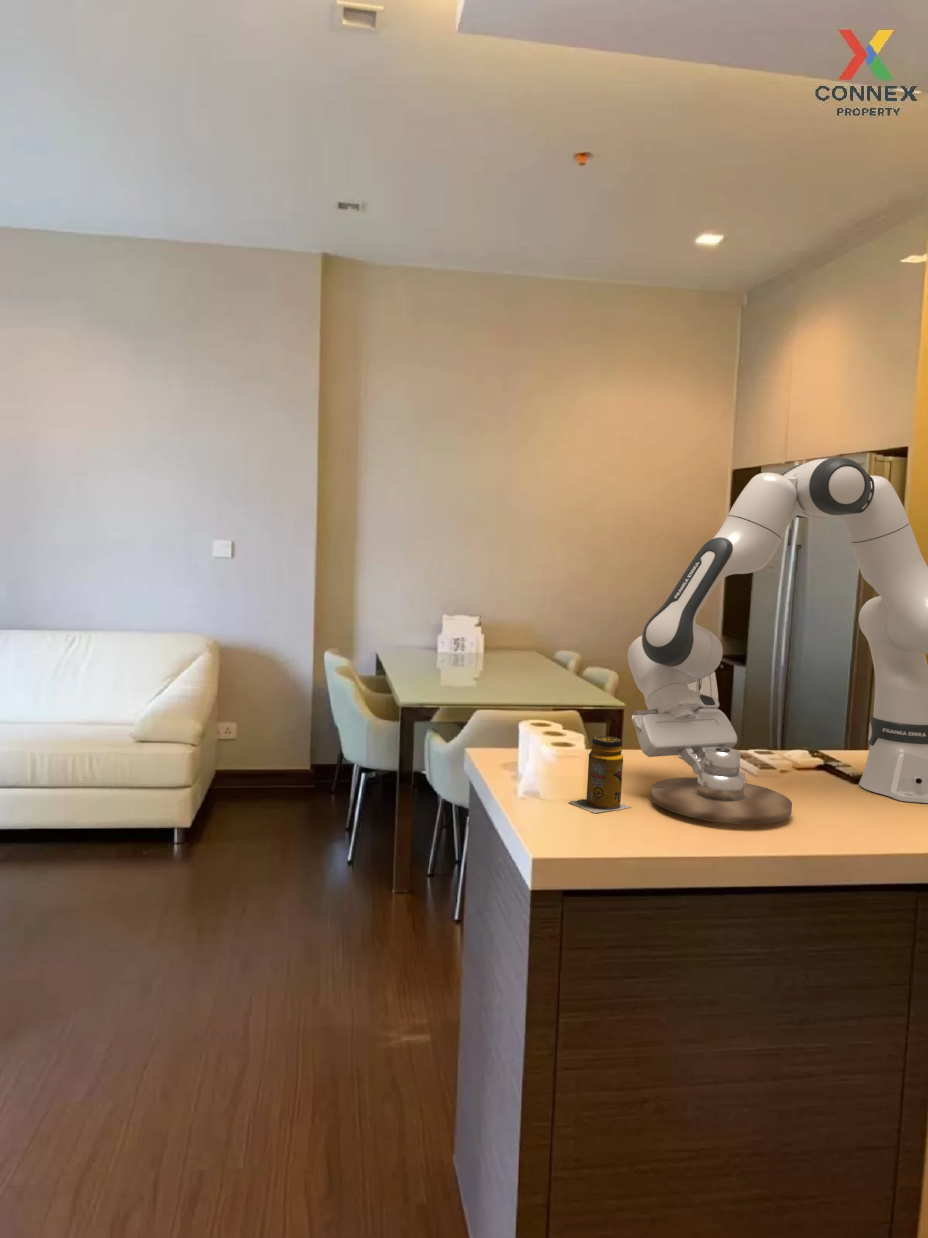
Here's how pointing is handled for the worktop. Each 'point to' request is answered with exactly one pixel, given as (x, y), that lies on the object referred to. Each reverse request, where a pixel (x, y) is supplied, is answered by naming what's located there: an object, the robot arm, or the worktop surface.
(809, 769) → the worktop surface
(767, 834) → the worktop surface
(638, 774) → the worktop surface
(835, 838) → the worktop surface
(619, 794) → the condiment
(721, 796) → the stacked silver spool
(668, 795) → the disc
